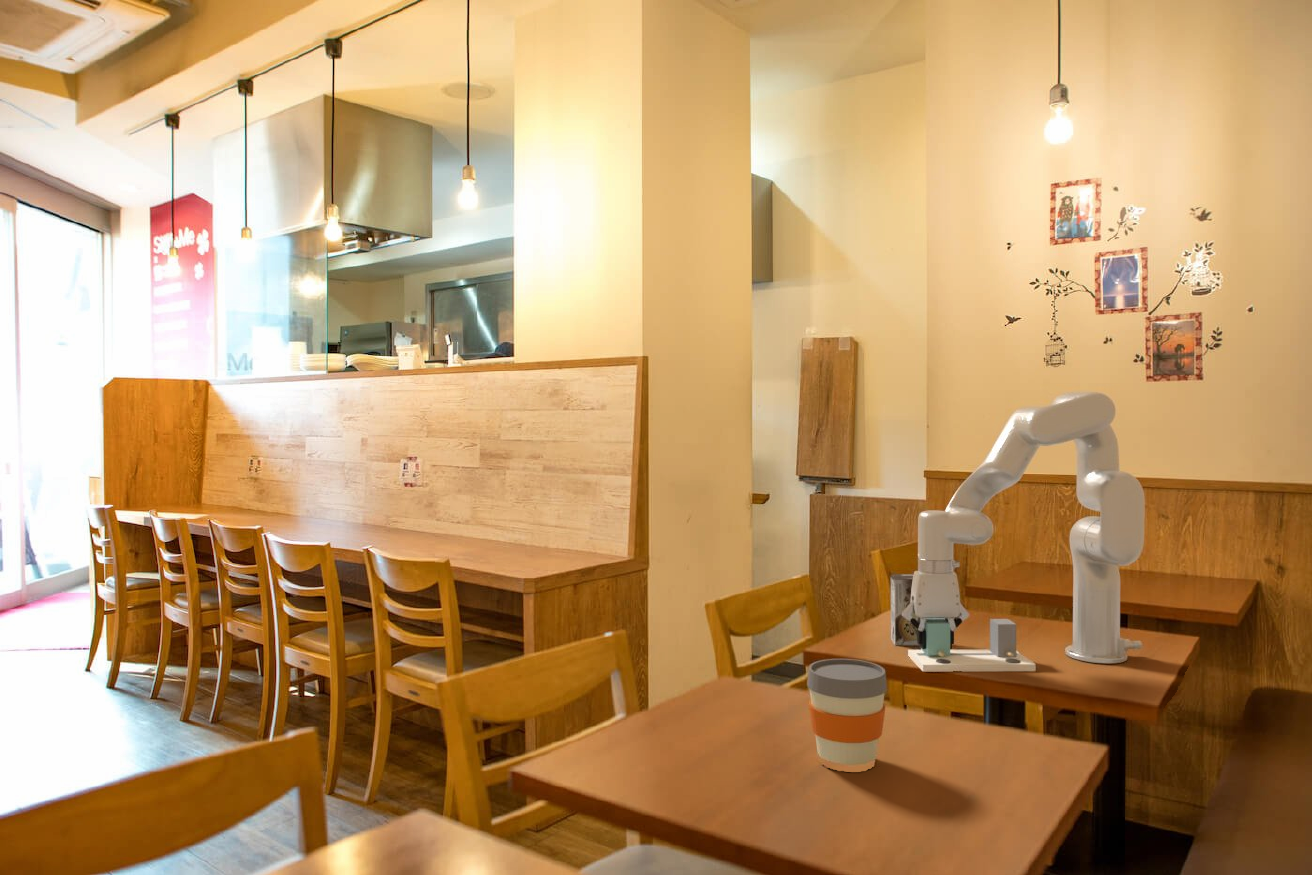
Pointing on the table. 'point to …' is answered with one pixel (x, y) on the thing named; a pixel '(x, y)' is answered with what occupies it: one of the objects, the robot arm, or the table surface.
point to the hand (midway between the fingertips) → (935, 646)
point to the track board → (980, 654)
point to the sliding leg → (937, 637)
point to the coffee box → (900, 599)
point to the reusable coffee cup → (847, 709)
